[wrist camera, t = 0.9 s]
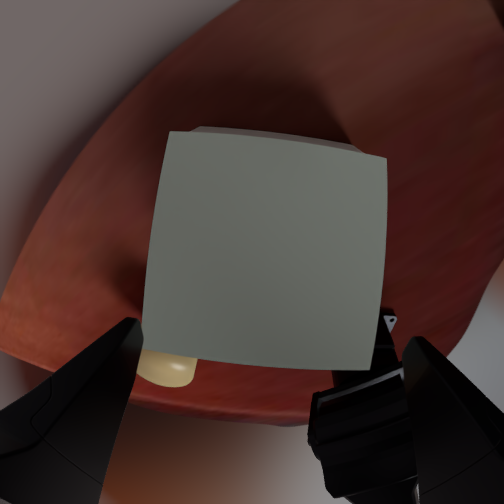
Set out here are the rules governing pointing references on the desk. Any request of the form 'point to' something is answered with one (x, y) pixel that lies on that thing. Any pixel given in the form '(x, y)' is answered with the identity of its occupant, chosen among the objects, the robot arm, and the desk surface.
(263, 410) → the desk surface
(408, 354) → the robot arm
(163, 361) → the beige rounded cylinder
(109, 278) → the desk surface
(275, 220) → the box lid
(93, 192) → the desk surface
